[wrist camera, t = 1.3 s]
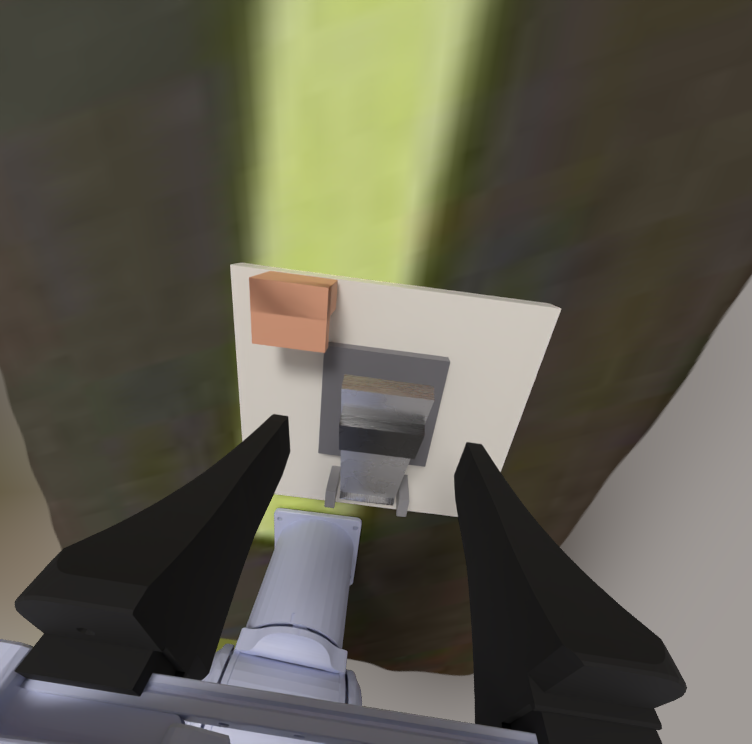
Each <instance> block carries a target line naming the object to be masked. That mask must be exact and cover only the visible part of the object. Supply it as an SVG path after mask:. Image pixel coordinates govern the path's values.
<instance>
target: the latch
mask: <svg viewBox="0 0 752 744" xmlns="http://www.w3.org/2000/svg"><path fill="white" fill-rule="evenodd" d="M337 286H338V280H335V279H328V278H320V277H313V276H305V275H298V274H290V273H283V272H275V271H268V272H265V273H262V274H258V275H255V276H252V277H249V290H250V312H251V334H252V344H259V345H267V346H275V347H283V348H290V349H298V350H306V351H313V352H321V353H325V352H326V350H327V348H328V342H329V326H330V316H331V314H332V313H333V312H334V310H335V309H336V300H337Z"/></svg>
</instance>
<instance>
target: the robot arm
mask: <svg viewBox="0 0 752 744" xmlns="http://www.w3.org/2000/svg"><path fill="white" fill-rule="evenodd" d="M289 454H290V436H289V419H288V416H284V415H277V414H273V415H271V416H270V417H269V418H268V419H267V420H266V421H265V422H264V423H263V424H261V425H260V426H259V427H258V428H257V429H256V430H255V431H254V432H253V433H252V434H251V435H249V436H248V437H247V438H246V439H245V440H244V441H243V442H241V443H240V444H239V445H238V446H237V447H236V448H234V449H233V450H232V451H231V452H230V453H228V454H227V455H226V456H225V457H223V458H222V459H221V460H219V461H218V462H217V463H216V464H214V465H213V466H212V467H210V468H209V469H208V470H206V471H205V472H204V473H202V474H201V475H199V476H198V477H196V478H195V479H194V480H192V481H191V482H189V483H188V484H186V485H185V486H183V487H181V488H180V489H178V490H177V491H175V492H173V493H172V494H170V495H169V496H167V497H165V498H164V499H162V500H160V501H159V502H157V503H155V504H154V505H152V506H150V507H148V508H146V509H144V510H143V511H141V512H139V513H137V514H135V515H133V516H131V517H129V518H128V519H126V520H124V521H122V522H120V523H118V524H116V525H114V526H112V527H110V528H108V529H106V530H103V531H101V532H99V533H97V534H95V535H92V536H90V537H88V538H86V539H84V540H82V541H79V542H77V543H75V544H73V545H70V546H68V547H66V548H64V549H63V550H62V551H61V552H60V553H59V554H58V555H57V556H56V557H55V558H54V559H53V560H52V561H51V562H50V563H49V564H48V565H47V566H46V567H45V568H44V570H43V571H42V572H41V573H40V574H39V575H38V576H37V577H36V579H34V581H33V582H32V583H31V584H30V585H29V586H28V587H27V588H26V589H25V590H24V591H23V592H22V594H21V595H20V596H19V597H18V598H17V599H16V601H15V608H16V610H17V611H18V612H19V613H20V614H21V615H22V616H23V617H24V618H25V619H27V620H28V621H29V622H30V623H32V624H33V625H34V626H35V627H37V628H38V629H39V630H41V631H42V632H43V633H44V635H43V636H42V637H41V638H40V640H39V641H38V642H37V643H36V645H35V646H34V647H33V646H31V645H28V644H25V643H21V642H16V641H9V640H3V639H0V744H662V742H661V740H660V738H659V735H658V733H657V731H656V730H660V729H662V725H661V722H660V720H659V718H658V716H657V714H656V711H655V709H654V708H656V707H659V706H661V705H663V704H666V703H669V702H671V701H674V700H676V699H678V698H680V697H682V696H683V695H684V693H685V692H686V689H687V687H686V683H685V681H684V679H683V678H682V676H681V674H680V672H679V670H678V668H677V667H676V665H675V663H674V661H673V659H672V657H671V656H670V654H669V652H668V650H667V648H666V647H665V645H664V643H663V642H662V640H661V639H660V638H659V637H658V636H657V635H655V634H654V633H653V632H652V631H651V630H649V629H648V628H647V627H646V626H645V625H643V624H642V623H641V622H640V621H638V620H637V619H636V618H635V617H634V616H632V615H631V614H630V613H629V612H627V611H626V610H625V609H624V608H623V607H622V606H620V605H619V604H618V603H617V602H616V601H615V600H614V599H613V598H611V597H610V596H609V595H608V594H607V593H606V592H605V591H604V590H603V589H601V588H600V587H599V586H598V585H597V584H596V583H595V582H594V581H593V580H592V579H590V577H589V576H587V575H586V574H585V573H584V572H583V571H582V570H581V569H580V568H579V567H578V566H577V565H576V564H575V563H574V562H573V561H572V560H571V559H570V558H569V557H568V556H567V555H566V554H565V553H564V552H563V550H562V549H561V548H560V547H559V546H558V545H557V544H556V543H555V542H554V541H553V540H552V538H551V537H550V536H549V535H548V534H547V533H546V532H545V531H544V529H543V528H542V527H541V526H540V525H539V524H538V522H537V521H536V520H535V519H534V518H533V516H532V515H531V514H530V513H529V511H528V510H527V509H526V507H525V506H524V505H523V504H522V502H521V501H520V499H519V498H518V497H517V495H516V494H515V493H514V491H513V490H512V488H511V487H510V486H509V484H508V483H507V481H506V480H505V478H504V477H503V475H502V474H501V472H500V471H499V469H498V468H497V466H496V465H495V463H494V462H493V460H492V459H491V457H490V456H489V454H488V453H487V451H486V449H485V448H484V446H483V445H482V444H478V443H471V442H466V445H465V447H464V450H463V453H462V455H461V458H460V461H459V463H458V466H457V468H456V471H455V474H454V490H455V502H456V508H457V514H458V520H459V525H460V531H461V536H462V542H463V547H464V553H465V558H466V565H467V573H468V584H469V596H470V610H471V624H472V642H473V662H474V692H475V724H472V723H466V722H460V721H453V720H447V719H440V718H434V717H428V716H422V715H416V714H409V713H403V712H396V711H390V710H383V709H378V708H371V707H365V706H362V697H361V690H360V686H359V684H358V682H357V679H356V676H355V673H354V672H353V671H352V670H347V669H346V662H347V653H348V652H347V650H343V649H342V645H343V636H344V627H345V619H346V610H347V602H348V593H349V586H350V585H352V584H353V579H354V573H355V566H356V559H357V552H358V545H359V538H360V531H361V524H362V520H361V519H360V518H357V517H349V516H341V515H333V514H325V513H317V512H309V511H301V510H293V509H285V508H277V509H276V510H275V513H274V529H275V549H274V552H273V555H272V558H271V560H270V563H269V566H268V568H267V571H266V574H265V577H264V579H263V582H262V585H261V587H260V590H259V593H258V596H257V598H256V601H255V604H254V606H253V609H252V612H251V615H250V617H249V620H248V623H247V625H246V628H242V630H241V633H240V636H239V638H238V641H237V644H236V647H235V649H234V645H231V644H225V645H224V646H223V648H222V649H220V650H219V651H217V652H216V649H217V646H218V643H219V639H220V636H221V633H222V629H223V626H224V623H225V620H226V617H227V614H228V611H229V608H230V605H231V602H232V598H233V595H234V592H235V589H236V587H237V584H238V581H239V578H240V575H241V572H242V569H243V566H244V563H245V561H246V558H247V555H248V552H249V550H250V547H251V544H252V541H253V539H254V536H255V534H256V531H257V529H258V527H259V525H260V523H261V520H262V518H263V516H264V514H265V512H266V510H267V508H268V506H269V503H270V501H271V499H272V497H273V495H274V493H275V491H276V488H277V486H278V484H279V482H280V480H281V478H282V475H283V473H284V470H285V467H286V464H287V461H288V458H289ZM355 526H356V527H355ZM215 652H216V653H215Z"/></svg>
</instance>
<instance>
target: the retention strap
mask: <svg viewBox="0 0 752 744" xmlns="http://www.w3.org/2000/svg"><path fill="white" fill-rule="evenodd" d="M433 403H434V386H431V385H423V384H415V383H407V382H400V381H392V380H384V379H376V378H369V377H361V376H353V375H345V374H344V379H343V383H342V388H341V417H340V423H339V450H341V470H340V499H344V500H352V501H360V502H368V503H376V504H384V505H392V506H393V504H394V499H395V496H396V494H397V491H398V489H399V486H400V484H401V481H402V479H403V476H404V474H405V471H406V469H407V467H408V464H409V462H410V459H415V457H416V455H417V453H418V450H419V448H420V446H421V443H422V441H423V439H424V436H425V422H426V420H427V417H428V415H429V413H430V410H431V408H432V405H433Z"/></svg>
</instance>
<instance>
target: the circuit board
mask: <svg viewBox="0 0 752 744" xmlns="http://www.w3.org/2000/svg"><path fill="white" fill-rule="evenodd" d="M230 268H231V282H232V297H233V311H234V326H235V340H236V355H237V369H238V384H239V398H240V413H241V427H242V442H243V441H244V440H245V439H246V438H247V437H248V436H249V435H251V434H252V433H253V432H254V431H255V430H256V429H257V428H258V427H259V426H260V425H261V424H263V423H264V422H265V421H266V420H267V419H268V418H269V417H270V416H271V415H273V414H277V415H284V416H288V419H289V436H290V454H289V458H288V461H287V464H286V467H285V470H284V473H283V475H282V478H281V480H280V482H279V484H278V486H277V488H276V491H275V493H274V494H278V495H286V496H294V497H302V498H310V499H318V500H325V507H330V508H334V506H335V502H342V503H350V504H358V505H366V506H374V507H382V508H390V509H396V516H402V517H406V514H407V511H414V512H422V513H430V514H438V515H446V516H454V517H458V514H457V508H456V502H455V490H454V474H455V471H456V468H457V466H458V463H459V461H460V458H461V455H462V453H463V450H464V447H465V445H466V442H471V443H478V444H482V445H483V446H484V448H485V449H486V451H487V453H488V454H489V456H490V457H491V459H492V460H493V462H494V463H495V465H496V466H497V468H498V469H499V471H500V472H501V469H502V467H503V464H504V461H505V459H506V456H507V453H508V450H509V448H510V445H511V442H512V440H513V437H514V434H515V432H516V429H517V426H518V424H519V421H520V418H521V416H522V413H523V410H524V407H525V405H526V402H527V399H528V397H529V394H530V391H531V389H532V386H533V383H534V381H535V378H536V375H537V373H538V370H539V367H540V364H541V362H542V359H543V356H544V354H545V351H546V348H547V346H548V343H549V340H550V338H551V335H552V332H553V330H554V327H555V324H556V321H557V319H558V316H559V313H560V311H561V308H559V307H556V306H554V305H552V304H549V303H542V302H534V301H527V300H519V299H512V298H504V297H497V296H489V295H482V294H474V293H467V292H459V291H451V290H444V289H436V288H429V287H421V286H414V285H406V284H399V283H391V282H384V281H376V280H368V279H361V278H353V277H346V276H338V275H331V274H323V273H316V272H308V271H301V270H293V269H286V268H278V267H270V266H263V265H255V264H248V263H237V264H232V265H230ZM268 271H275V272H283V273H290V274H298V275H305V276H313V277H320V278H328V279H335V280H338V286H337V300H336V309H335V310H334V312H333V313H332V314H331V316H330V326H329V342H328V348H327V350H326V352H325V353H321V352H313V351H306V350H298V349H290V348H283V347H275V346H267V345H259V344H252V334H251V312H250V290H249V277H252V276H255V275H258V274H262V273H265V272H268ZM344 374H345V375H353V376H361V377H369V378H376V379H384V380H392V381H400V382H407V383H415V384H423V385H431V386H434V403H433V405H432V408H431V410H430V413H429V415H428V417H427V420H426V422H425V436H424V439H423V441H422V443H421V446H420V448H419V450H418V453H417V455H416V457H415V459H410V462H409V464H408V467H407V469H406V471H405V474H404V476H403V479H402V481H401V484H400V486H399V489H398V491H397V494H396V496H395V499H394V504H393V506H392V505H384V504H376V503H368V502H360V501H352V500H344V499H340V470H341V450H339V423H340V417H341V388H342V383H343V379H344Z"/></svg>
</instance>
